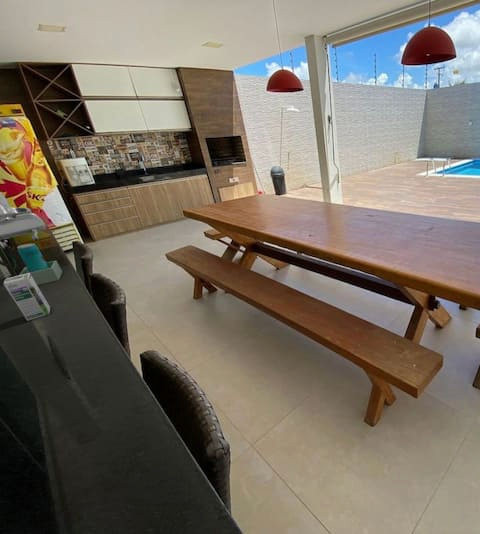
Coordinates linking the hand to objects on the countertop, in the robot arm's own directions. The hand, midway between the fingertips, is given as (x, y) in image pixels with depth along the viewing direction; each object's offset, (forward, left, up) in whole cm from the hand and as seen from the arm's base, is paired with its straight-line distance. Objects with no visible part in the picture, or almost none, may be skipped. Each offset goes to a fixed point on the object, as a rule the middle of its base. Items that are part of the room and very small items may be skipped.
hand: (21, 243), depth 127 cm
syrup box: (+6, -43, -16) cm, 46 cm away
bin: (+2, -6, -16) cm, 17 cm away
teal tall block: (+2, -6, -15) cm, 16 cm away
